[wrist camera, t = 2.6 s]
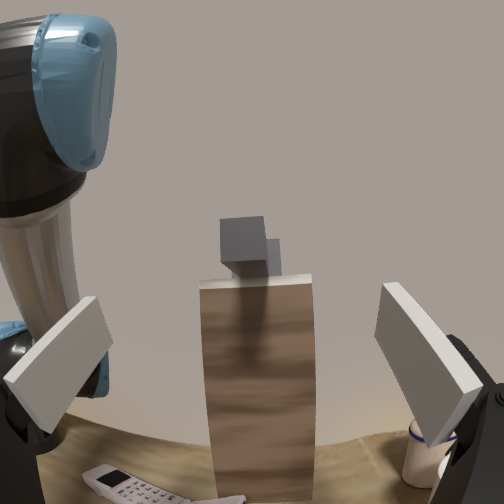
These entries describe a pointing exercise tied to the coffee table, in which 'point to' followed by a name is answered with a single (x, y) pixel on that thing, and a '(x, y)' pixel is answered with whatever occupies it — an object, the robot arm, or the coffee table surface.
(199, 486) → the coffee table surface
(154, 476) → the coffee table surface
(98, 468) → the mobile phone
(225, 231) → the gray block
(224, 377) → the brown wooden tall block
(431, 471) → the teacup with lid
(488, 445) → the robot arm
